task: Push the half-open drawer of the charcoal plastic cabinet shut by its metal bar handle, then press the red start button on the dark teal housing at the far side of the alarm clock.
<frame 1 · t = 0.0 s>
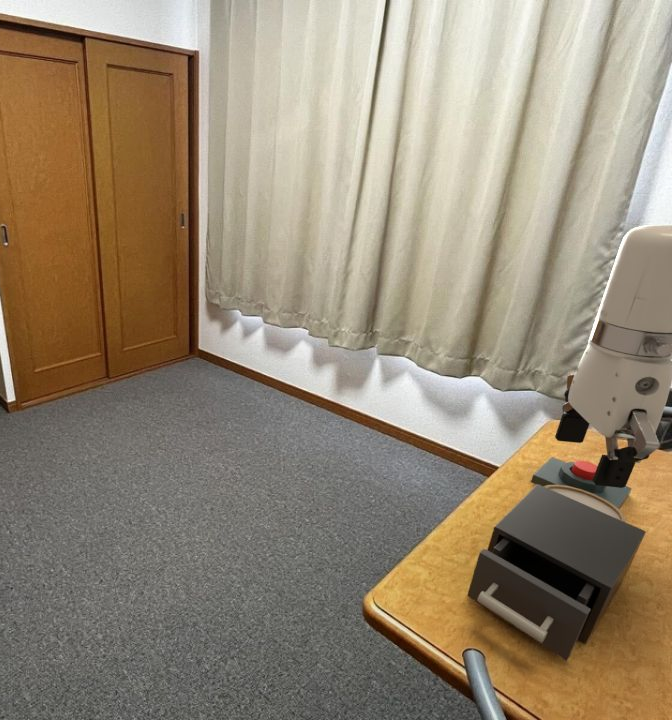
hand: (586, 461, 61), 19 cm above the table, tool pointing down, fingers open, 9 cm apart
cabinet: (549, 581, 67), on the table
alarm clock: (573, 529, 76), on the table, touching cabinet, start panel
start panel: (578, 488, 85), on the table
drawer: (536, 584, 61), point 5 cm above the table, slide at 4.0 cm
start button: (585, 470, 83), point 4 cm above the table, slide at 0.2 cm
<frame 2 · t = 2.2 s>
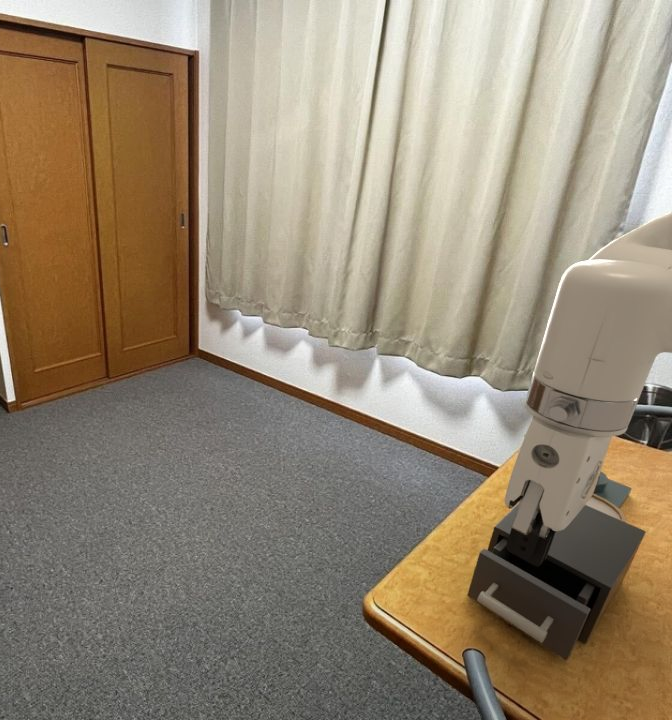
hand: (525, 554, 50), 17 cm above the table, tool pointing down, fingers closed
nothing on the table moved.
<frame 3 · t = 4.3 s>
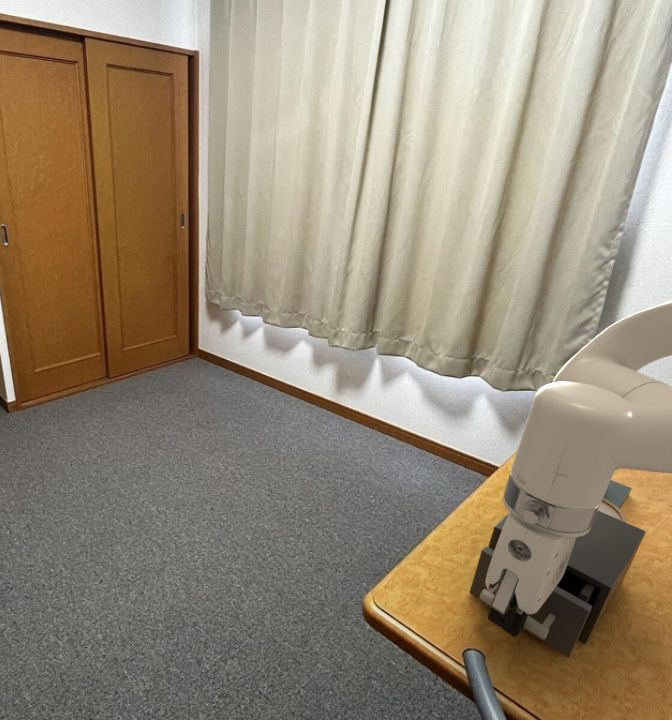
hand: (504, 624, 56), 5 cm above the table, tool pointing down, fingers closed
drawer: (538, 582, 61), point 5 cm above the table, slide at 3.4 cm, touching gripper
everything else where it was.
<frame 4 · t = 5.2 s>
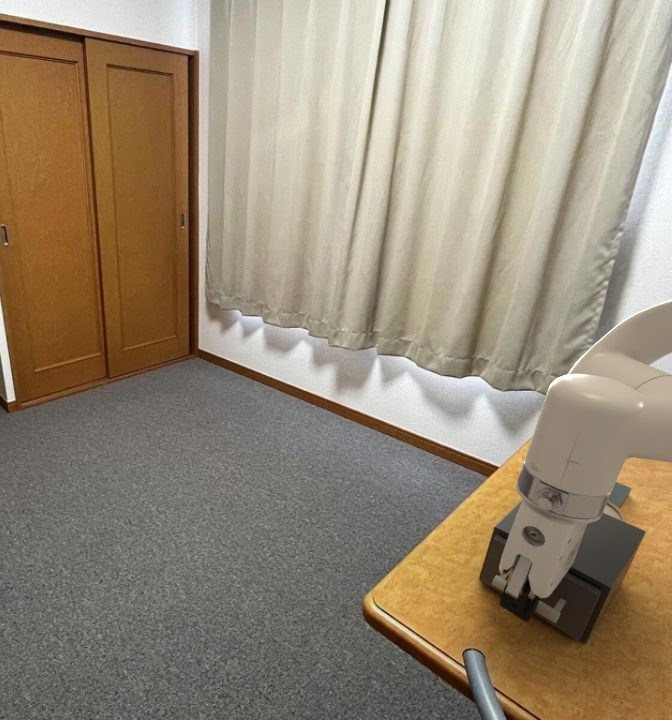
hand: (515, 609, 58), 5 cm above the table, tool pointing down, fingers closed
drawer: (548, 569, 63), point 5 cm above the table, slide at 0.0 cm, touching cabinet, gripper
everything else where it was.
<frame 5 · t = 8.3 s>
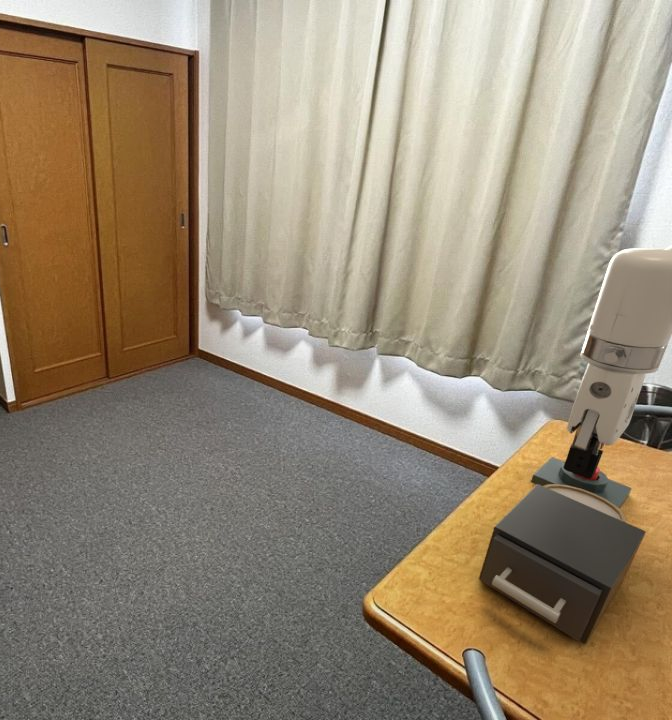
hand: (578, 471, 66), 15 cm above the table, tool pointing down, fingers closed
drawer: (548, 569, 63), point 5 cm above the table, slide at 0.0 cm, touching cabinet
everything else where it was.
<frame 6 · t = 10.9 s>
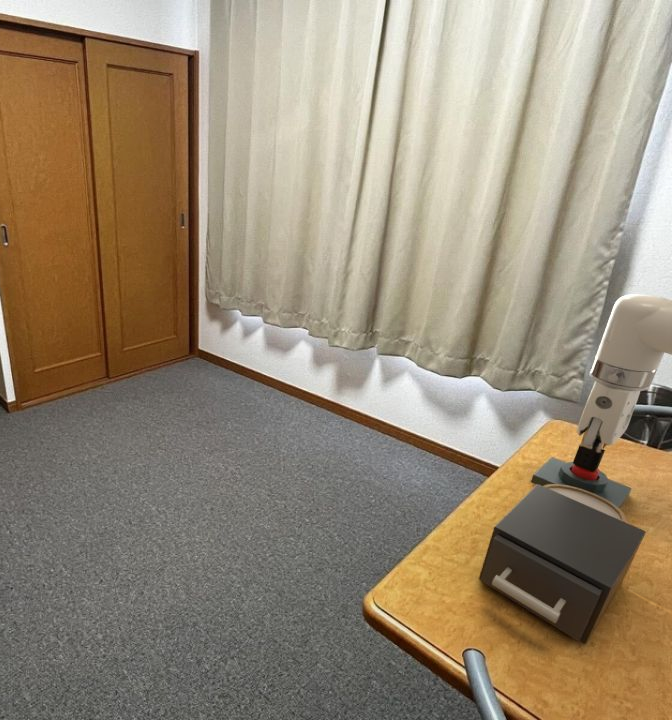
hand: (584, 466, 83), 5 cm above the table, tool pointing down, fingers closed
start button: (585, 471, 84), point 4 cm above the table, slide at 0.0 cm, touching gripper
everything else where it was.
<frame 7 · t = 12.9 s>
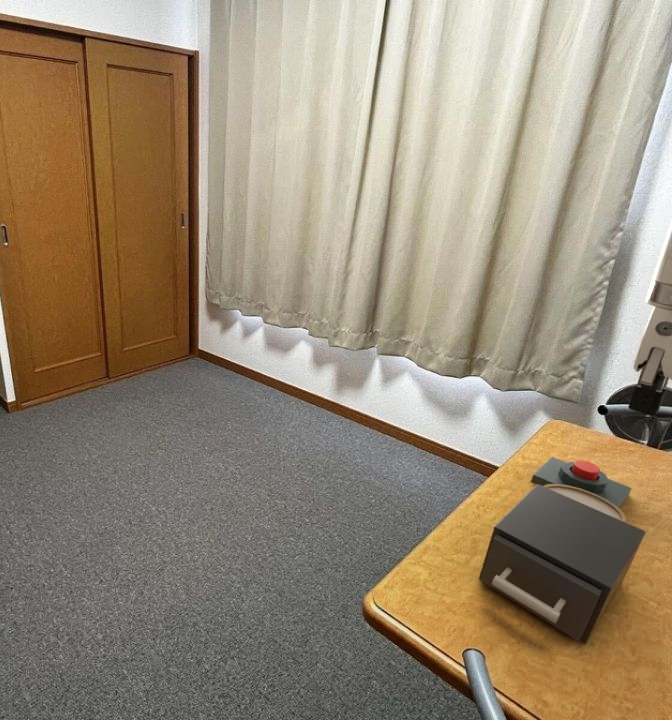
hand: (642, 410, 73), 19 cm above the table, tool pointing down, fingers closed
start button: (585, 470, 83), point 4 cm above the table, slide at 0.1 cm
everything else where it was.
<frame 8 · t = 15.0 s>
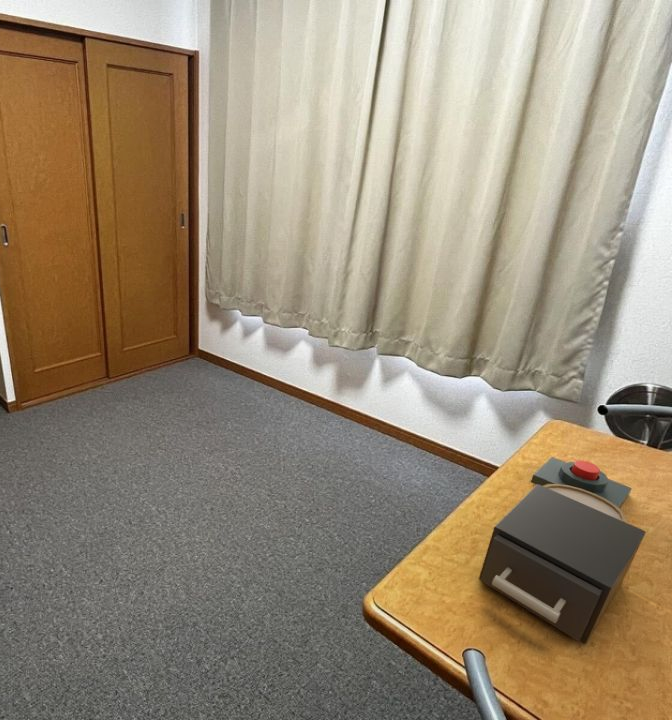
nothing on the table moved.
at the end: drawer slide at 0.0 cm; start button pushed in 1.1 cm at the most during the clip, back to where it started at the end; start button slide at 0.1 cm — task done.
